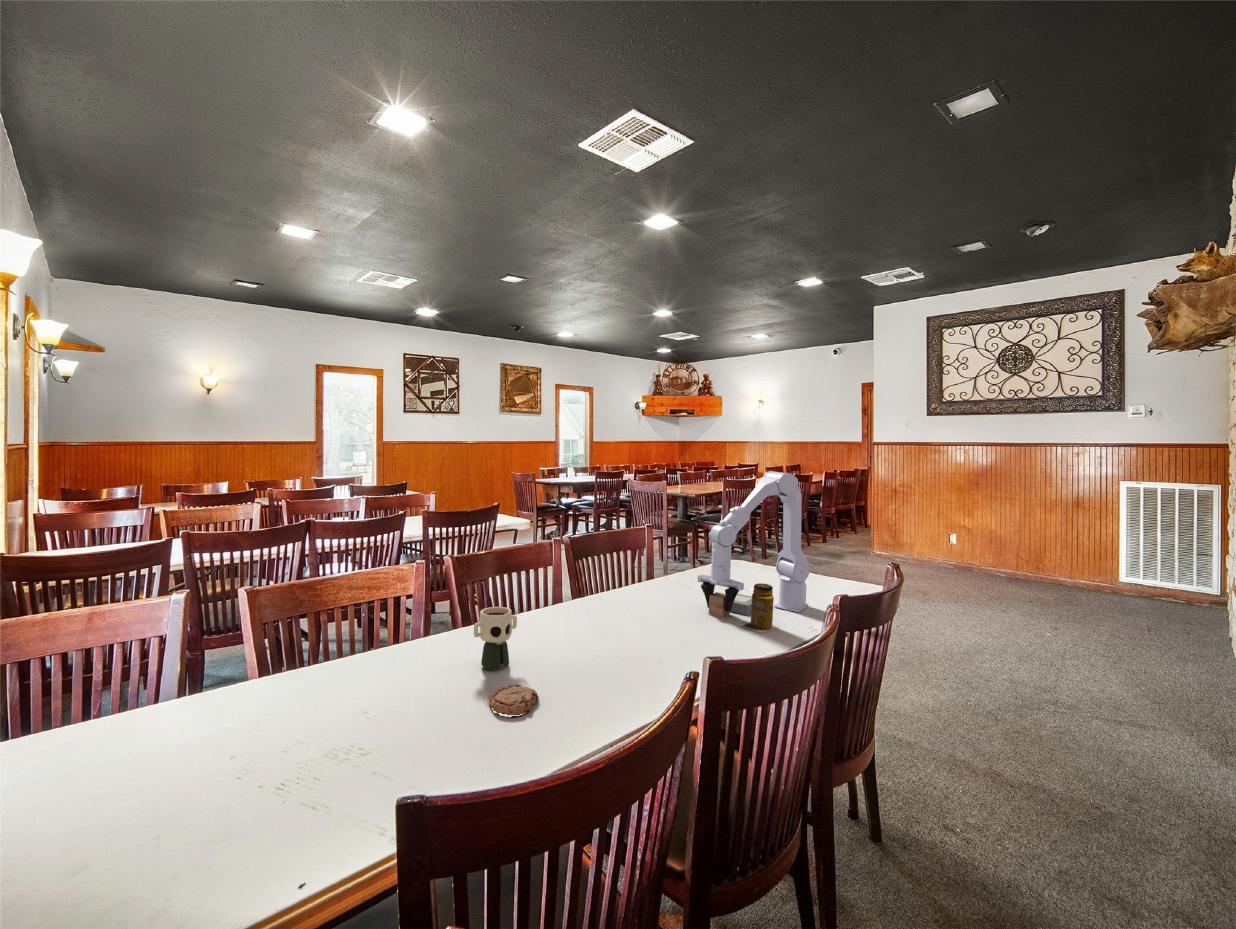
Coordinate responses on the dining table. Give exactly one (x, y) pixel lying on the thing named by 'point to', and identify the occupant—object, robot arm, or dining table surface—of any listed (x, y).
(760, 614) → the condiment
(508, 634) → the character mug
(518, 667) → the dining table surface
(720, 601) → the walnut block
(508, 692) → the cookie
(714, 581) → the robot arm
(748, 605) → the slate base
